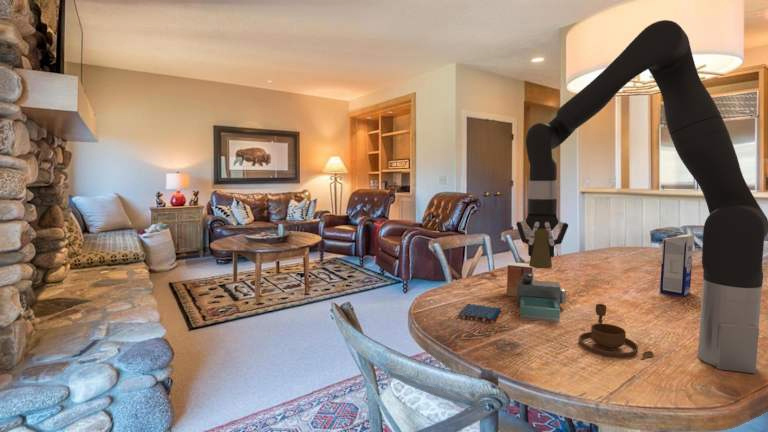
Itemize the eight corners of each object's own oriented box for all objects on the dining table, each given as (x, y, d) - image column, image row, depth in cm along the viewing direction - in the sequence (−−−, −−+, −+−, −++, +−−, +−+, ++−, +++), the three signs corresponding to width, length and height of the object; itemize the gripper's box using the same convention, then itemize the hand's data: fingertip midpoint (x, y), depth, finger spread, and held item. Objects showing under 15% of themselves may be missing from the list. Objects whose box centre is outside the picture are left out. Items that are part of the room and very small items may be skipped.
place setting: (556, 343, 95) (557, 319, 95) (594, 323, 108) (595, 302, 107) (638, 370, 82) (640, 343, 81) (671, 344, 94) (672, 320, 93)
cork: (554, 268, 108) (555, 228, 107) (530, 268, 109) (531, 228, 108) (549, 264, 114) (550, 226, 113) (527, 263, 115) (528, 225, 114)
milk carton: (684, 296, 128) (688, 235, 126) (659, 292, 133) (663, 233, 131) (690, 292, 133) (694, 233, 131) (666, 288, 138) (669, 231, 136)
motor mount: (570, 323, 106) (571, 289, 105) (516, 318, 110) (517, 285, 110) (563, 304, 122) (564, 274, 121) (517, 300, 126) (517, 271, 125)
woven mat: (466, 308, 121) (466, 302, 121) (502, 313, 116) (502, 306, 116) (456, 319, 111) (456, 312, 111) (495, 325, 107) (495, 318, 107)
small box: (506, 296, 131) (506, 264, 130) (509, 291, 136) (510, 261, 135) (531, 299, 127) (532, 267, 126) (534, 294, 132) (535, 263, 131)
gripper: (515, 197, 109) (513, 259, 110) (572, 198, 104) (570, 262, 106) (515, 196, 116) (514, 254, 117) (568, 196, 111) (567, 256, 113)
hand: (540, 257), depth 112 cm, fingers closed on cork, 4 cm apart
